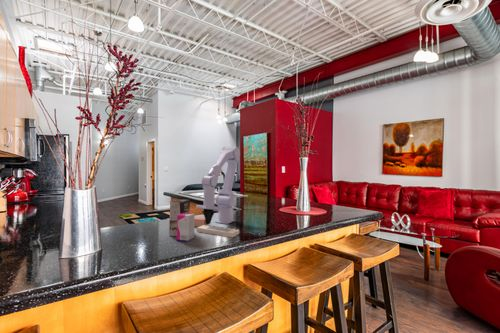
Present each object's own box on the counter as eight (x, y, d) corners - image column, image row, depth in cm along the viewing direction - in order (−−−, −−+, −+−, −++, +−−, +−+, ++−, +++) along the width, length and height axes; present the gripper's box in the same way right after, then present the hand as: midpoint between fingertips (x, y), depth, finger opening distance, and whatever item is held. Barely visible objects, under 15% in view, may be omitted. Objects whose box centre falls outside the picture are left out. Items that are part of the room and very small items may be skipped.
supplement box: (194, 238, 119) (195, 213, 119) (188, 242, 113) (188, 215, 113) (182, 237, 120) (183, 212, 120) (176, 240, 115) (176, 214, 114)
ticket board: (204, 228, 136) (204, 224, 136) (239, 233, 129) (239, 229, 129) (196, 231, 130) (196, 227, 130) (232, 237, 122) (232, 232, 122)
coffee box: (181, 237, 120) (182, 202, 120) (168, 235, 122) (169, 201, 121) (189, 231, 129) (190, 199, 129) (177, 230, 131) (178, 198, 130)
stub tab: (190, 223, 146) (190, 215, 146) (208, 225, 142) (208, 218, 142) (184, 224, 142) (184, 217, 142) (203, 227, 137) (203, 220, 137)
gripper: (193, 197, 138) (192, 223, 138) (217, 200, 132) (216, 227, 132) (200, 196, 144) (200, 220, 144) (223, 198, 138) (223, 224, 139)
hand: (208, 223), depth 139 cm, fingers closed
